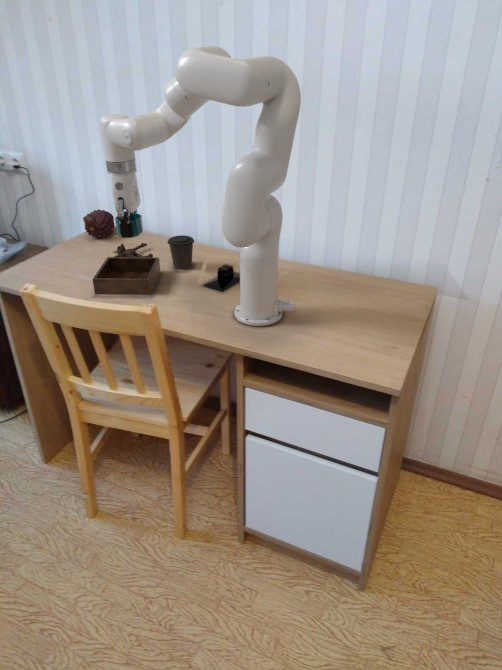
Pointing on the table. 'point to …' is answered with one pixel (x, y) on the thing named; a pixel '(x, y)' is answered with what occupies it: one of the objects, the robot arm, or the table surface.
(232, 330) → the table surface
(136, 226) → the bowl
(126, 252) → the brown branch
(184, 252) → the coffee cup
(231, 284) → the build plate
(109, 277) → the open wooden box
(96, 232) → the pine cone
